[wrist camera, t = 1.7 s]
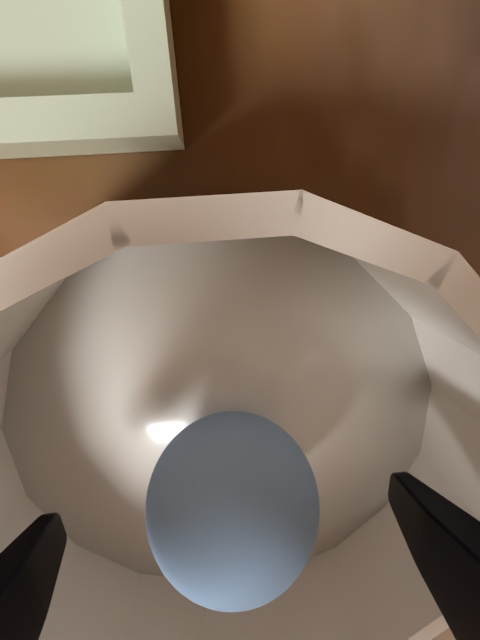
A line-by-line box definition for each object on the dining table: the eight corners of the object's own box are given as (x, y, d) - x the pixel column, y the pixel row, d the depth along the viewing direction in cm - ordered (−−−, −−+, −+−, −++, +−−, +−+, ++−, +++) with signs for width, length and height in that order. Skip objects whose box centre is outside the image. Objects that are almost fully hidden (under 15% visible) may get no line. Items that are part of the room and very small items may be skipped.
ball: (295, 484, 12) (343, 644, 8) (169, 499, 12) (145, 674, 7) (295, 374, 10) (356, 496, 6) (149, 388, 10) (104, 528, 6)
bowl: (404, 542, 15) (479, 674, 11) (63, 587, 14) (0, 751, 10) (463, 183, 10) (656, 167, 6) (-77, 216, 9) (-341, 227, 5)
